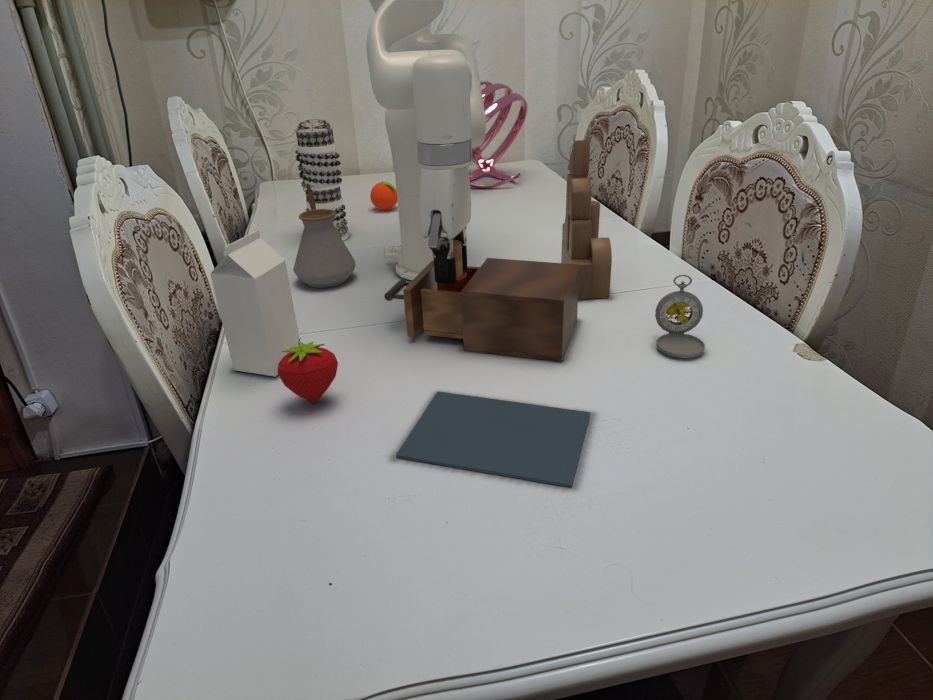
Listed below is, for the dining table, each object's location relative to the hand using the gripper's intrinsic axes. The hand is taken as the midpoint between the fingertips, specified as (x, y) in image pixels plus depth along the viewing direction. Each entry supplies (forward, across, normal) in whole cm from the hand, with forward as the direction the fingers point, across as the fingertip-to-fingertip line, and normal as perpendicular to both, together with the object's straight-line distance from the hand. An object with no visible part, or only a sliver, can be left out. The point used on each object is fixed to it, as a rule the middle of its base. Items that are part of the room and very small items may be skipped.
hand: (451, 274), depth 98 cm
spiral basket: (+10, -91, -22) cm, 94 cm away
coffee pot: (+9, -18, -33) cm, 39 cm away
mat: (+9, +26, +14) cm, 31 cm away
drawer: (+8, 0, -1) cm, 8 cm away
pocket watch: (+9, -2, +34) cm, 35 cm away
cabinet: (+9, 0, +11) cm, 14 cm away
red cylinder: (+7, 0, 0) cm, 7 cm away
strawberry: (+9, +25, -11) cm, 29 cm away
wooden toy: (+9, -23, +17) cm, 30 cm away
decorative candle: (+9, -37, -42) cm, 57 cm away
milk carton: (+9, +17, -23) cm, 30 cm away
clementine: (+9, -60, -38) cm, 72 cm away
